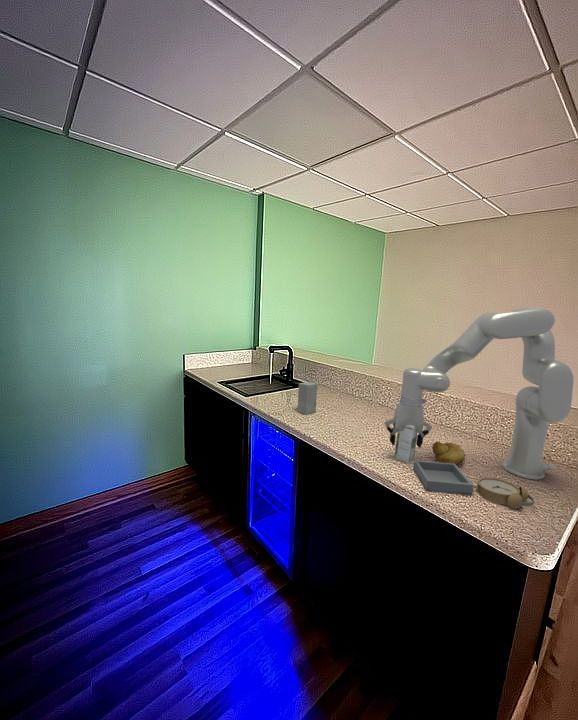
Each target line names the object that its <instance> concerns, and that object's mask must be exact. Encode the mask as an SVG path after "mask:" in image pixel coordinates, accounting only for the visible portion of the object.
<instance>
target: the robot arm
mask: <svg viewBox="0 0 578 720" xmlns="http://www.w3.org/2000/svg"><path fill="white" fill-rule="evenodd" d="M555 321H556V318H555V316H554V314H553V313H552V312H551V311H550V310H548V309H547V308H543V307H518V308H515V309H513V310H511V311H509V312H485V313H483V314H481V315H479V316H478V317H477V318H476V319H475V320H474V321H473V322H472V323H471V324H470V325H469V326H468V327H467V328H466V330H465V331H464V332H462V334H461V335H460V336H459V337H458V338H457V339H456V340H455V341H454V342H453V343H452V344H450V345H449V346H447V347H446V348H445V349H443V350H442V351H440V352H439V353H438V354H436V355H435V356H434V357H433V358H432V359H431V360H430V361H429V362H428V363H427V364H426V366H424V368H423V369H420V368H413V367H409V368H405V369H404V371H403V375H402V381H401V382H402V383H401V392H400V398H399V399H400V400H399V402H397V404H396V407H395V410H394V415H393V418H390V419H388V420H385V421H384V425H385V428H386V429H387V431H388V432H389V433H390V435H389V443H391V445H392V446H396V439H397V435H396V433H398V431H404V429H405V427H406V426H407V425H412V426H415V432H417V440H416V446H417V447H418V448H419V449H421V448H422V445H423V442H424V438H425V437H426V436H427V435H428V434H429V433H430V431H431V430H432V429H433V426H432V425H431V424H429V423H428V422H427V421H425V420H424V419H425V418H424V406H423V404H426V403H427V401H426V399H424V398H423V397H424V391H429V392H433V393H438V394H439V393H443V392H445V391H447V390H449V388H450V385H451V380H450V377H449V376H448V375H447V374H446V373H448V372H449V371H450V370H451V369H453V368H454V367H456V366H457V365H460V364H463V363H466V362H469V361H471V360H475V358H477V356H478V355H479V354H480V353H481V352H482V351H483V350H484V349H485V348H486V347H487V346H488V345H489V344H490V343H491V342H493V340H494V339H495V340H508V339H517V338H519V339H520V338H521V340H522V342H523V355H522V356H523V357H522V372H521V374H522V377H523V378H524V380H526V381H527V382H529V383H531V384H533V385H537V386H532V385H531V386H526V387H522V388H521V389H520V390H519V391H518V392H517V394H516V395H515V418H514V419H515V420H514V424H513V430H512V436H511V442H510V447H509V452H508V453H509V454H508V459H507V460H503V461H502V464H501V466H502V468H503V469H504V470H505V471H507V472H508V473H511V474H512V475H515V476H516V477H520V478H524V479H528V480H535V481H536V480H543V479H544V478H545V472H544V471H546V470H547V471H555V468H556V467H555V465H553V464H546V461H542V459H543V454H544V450H545V445H546V439H547V434H548V426H549V423H550V424H556V423H561V422H562V421H564V420H565V419H566V418H567V417H568V416H569V414H570V412H571V408H572V401H573V391H574V374H573V371H572V370H571V368H570V366H569V365H567V364H566V363H565V362H562V361H560V360H559V361H558V360H556V359H555V358H556V354H555V353H556V348H555V347H556V343H555V342H556V341H555V337H554V334H553V332H552V330H551V329H552V328H553V327H554V325H555ZM390 425H392V426H393V427H392V428H391V427H390ZM424 427H425V429H424Z"/></svg>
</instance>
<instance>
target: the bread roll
mask: <svg viewBox="0 0 578 720" xmlns="http://www.w3.org/2000/svg"><path fill="white" fill-rule="evenodd" d="M431 451H432V453H433V455H435V460H436V462H442V463H453V464H456V466H457V467H458V466H459V465H462V464H463V463H464V462H465V457H466V454H465V451H464V450H463V448H462V447H461V446H460V445H458V444H457V443H452V442H446V443H443V442H441V441H435V442H433V444H432V450H431Z"/></svg>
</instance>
